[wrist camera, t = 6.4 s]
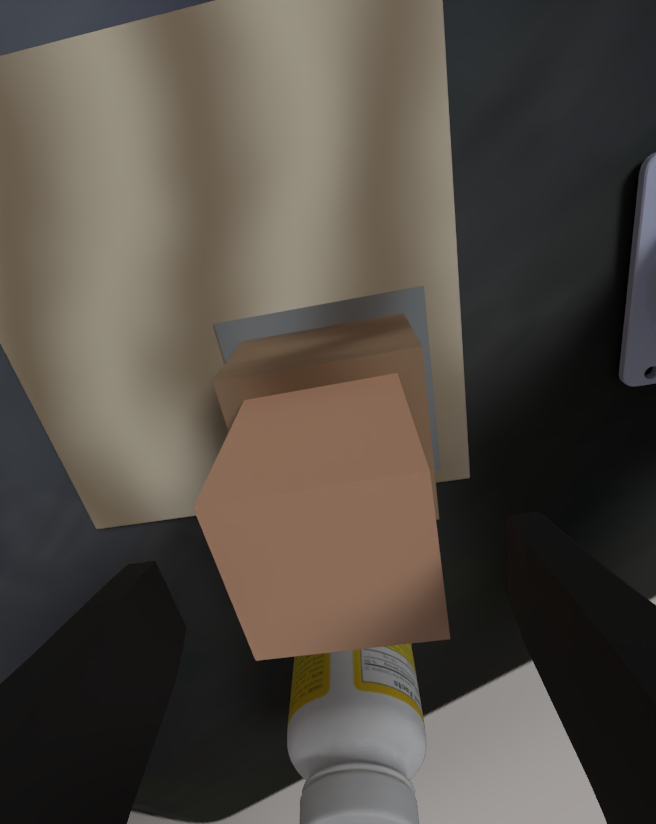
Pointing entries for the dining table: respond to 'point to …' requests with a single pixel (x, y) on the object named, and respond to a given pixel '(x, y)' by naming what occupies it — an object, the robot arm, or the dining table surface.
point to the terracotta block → (326, 522)
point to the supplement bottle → (357, 735)
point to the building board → (219, 223)
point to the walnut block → (330, 367)
